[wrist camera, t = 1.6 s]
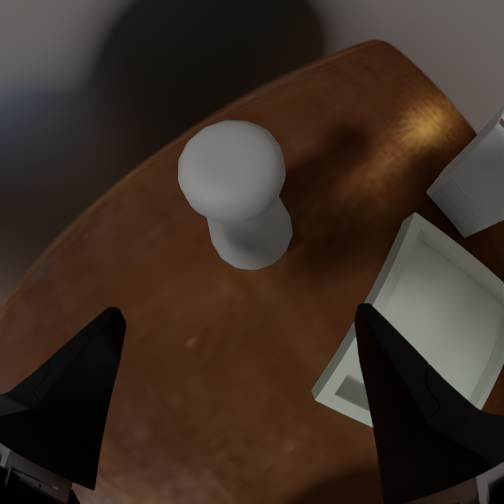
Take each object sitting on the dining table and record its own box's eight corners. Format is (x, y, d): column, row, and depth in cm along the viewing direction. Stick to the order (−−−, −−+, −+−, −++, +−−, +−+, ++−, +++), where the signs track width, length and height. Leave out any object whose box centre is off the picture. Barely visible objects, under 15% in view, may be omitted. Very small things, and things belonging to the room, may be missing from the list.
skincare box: (479, 212, 21) (558, 165, 10) (461, 241, 21) (552, 200, 9) (441, 167, 23) (508, 98, 11) (420, 193, 22) (497, 123, 10)
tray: (440, 447, 18) (451, 456, 15) (311, 390, 20) (315, 399, 18) (509, 304, 19) (524, 303, 17) (403, 220, 22) (414, 212, 20)
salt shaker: (276, 194, 23) (275, 82, 10) (300, 259, 22) (333, 199, 9) (209, 216, 23) (144, 126, 11) (229, 283, 22) (169, 253, 9)
